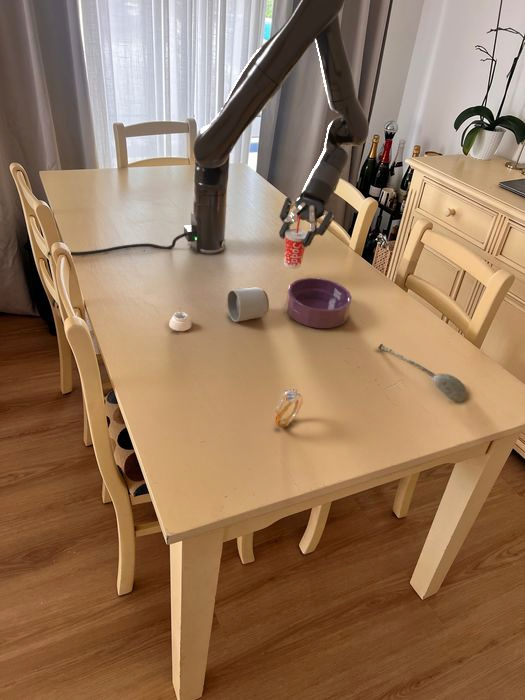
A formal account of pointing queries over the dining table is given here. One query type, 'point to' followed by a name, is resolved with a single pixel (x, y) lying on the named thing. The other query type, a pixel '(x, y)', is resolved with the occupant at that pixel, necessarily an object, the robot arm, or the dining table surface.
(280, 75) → the robot arm
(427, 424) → the dining table surface
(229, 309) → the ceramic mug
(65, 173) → the dining table surface
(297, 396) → the ring
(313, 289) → the bowl
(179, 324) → the white jar
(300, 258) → the beverage cup
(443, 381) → the soupspoon
